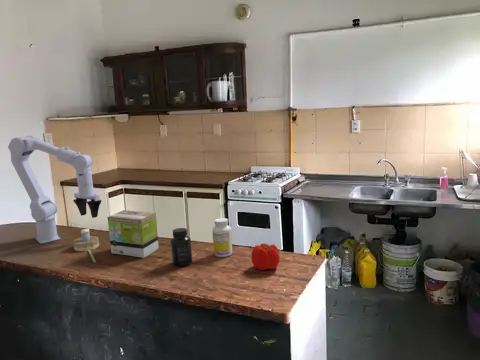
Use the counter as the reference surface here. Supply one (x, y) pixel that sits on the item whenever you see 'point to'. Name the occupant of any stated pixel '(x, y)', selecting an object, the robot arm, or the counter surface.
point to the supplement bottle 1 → (181, 248)
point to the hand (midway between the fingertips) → (89, 216)
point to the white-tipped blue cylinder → (85, 235)
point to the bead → (86, 244)
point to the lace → (91, 256)
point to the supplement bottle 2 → (222, 238)
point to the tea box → (133, 233)
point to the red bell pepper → (265, 256)
